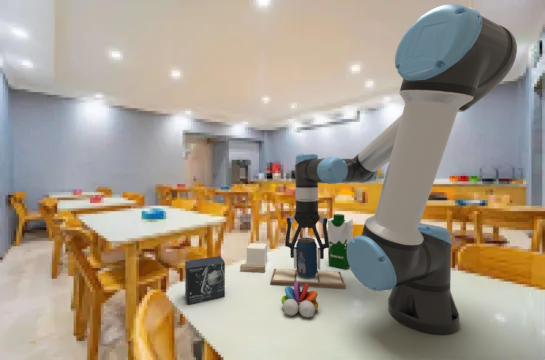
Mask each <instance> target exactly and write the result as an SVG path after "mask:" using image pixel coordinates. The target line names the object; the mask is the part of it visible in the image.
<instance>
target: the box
mask: <svg viewBox="0 0 545 360" xmlns="http://www.w3.org/2000/svg"><path fill="white" fill-rule="evenodd" d="M184 265H185V266H184V267H185V269H184V270H185V275H184V276H185V278H184V279H185V282H184V284H185V285H184V287H185V288H184V289H185V293H184V296H185V300H186V304H187V306H188V305H189V306H190V305H193V304H194V305H195V304H197V303H204V302H208V301H211V300H212V301H213V300H217V299H222V298H225V296H226V295H225V294H226V287H225V285H226V281H225V280H226V278H225V277H226V275H225V274H226V263H225V261H224V259H223V258H222V256H220V255H217V256H211V257H203V258H197V259H190V260H185V261H184Z"/></svg>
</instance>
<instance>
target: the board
mask: <svg viewBox="0 0 545 360" xmlns="http://www.w3.org/2000/svg"><path fill="white" fill-rule="evenodd" d="M295 282H298V283H299V285H300V288H301V287H302V288H303V287H304V285H305V284H306V283H308V284H309V288H319V289H320V288H321V289H322V288H325V289H326V288H327V289H340V290H341V289H342V290H344V289H345V290H346V284H345V281H344V278H343V276H342V274H341V271H337V270H335V271H333V270H317V274H316V275H315V277H313V278H302V277H300V276H299V275H298V273H297V269H287V268H274V269H273V272H272V274H271V278H270V282H269V283H270V286H285V287H287V286H290V287H294V283H295Z"/></svg>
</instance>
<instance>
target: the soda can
mask: <svg viewBox="0 0 545 360" xmlns="http://www.w3.org/2000/svg"><path fill="white" fill-rule="evenodd" d="M295 247H296V270H297V273H298V275H299V276H300V277H302V278H313V277H315V275H316V274H317V271H318V243H316V238H315V239H314V238H312V237H300V238H297V241H296V244H295Z"/></svg>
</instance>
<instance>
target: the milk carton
mask: <svg viewBox="0 0 545 360" xmlns="http://www.w3.org/2000/svg"><path fill="white" fill-rule="evenodd" d="M327 220H328V221H327V233H328V240H329V248H327V256H328V257H327V258H328V267H332V268H338V269H342V270H348V269H349V268H350V265H349V263H348V259H347V246H348V243H349V241H350V240H351V239H352V238H354V237H353V236H354V235H353V230H354V228H353V225H354V223H353V221H354V220H353V218H346V217H345V214H342V213H335V214H333V217H331V218H329V219H327Z"/></svg>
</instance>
